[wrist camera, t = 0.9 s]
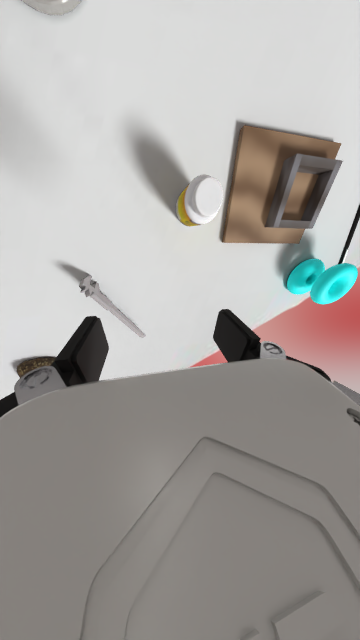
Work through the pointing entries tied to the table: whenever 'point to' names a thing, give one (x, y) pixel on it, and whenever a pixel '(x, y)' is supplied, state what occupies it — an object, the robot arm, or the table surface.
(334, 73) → the table surface
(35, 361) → the bread roll
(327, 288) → the donuts
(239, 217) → the board
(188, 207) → the supplement bottle
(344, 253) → the pen
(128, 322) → the caliper
